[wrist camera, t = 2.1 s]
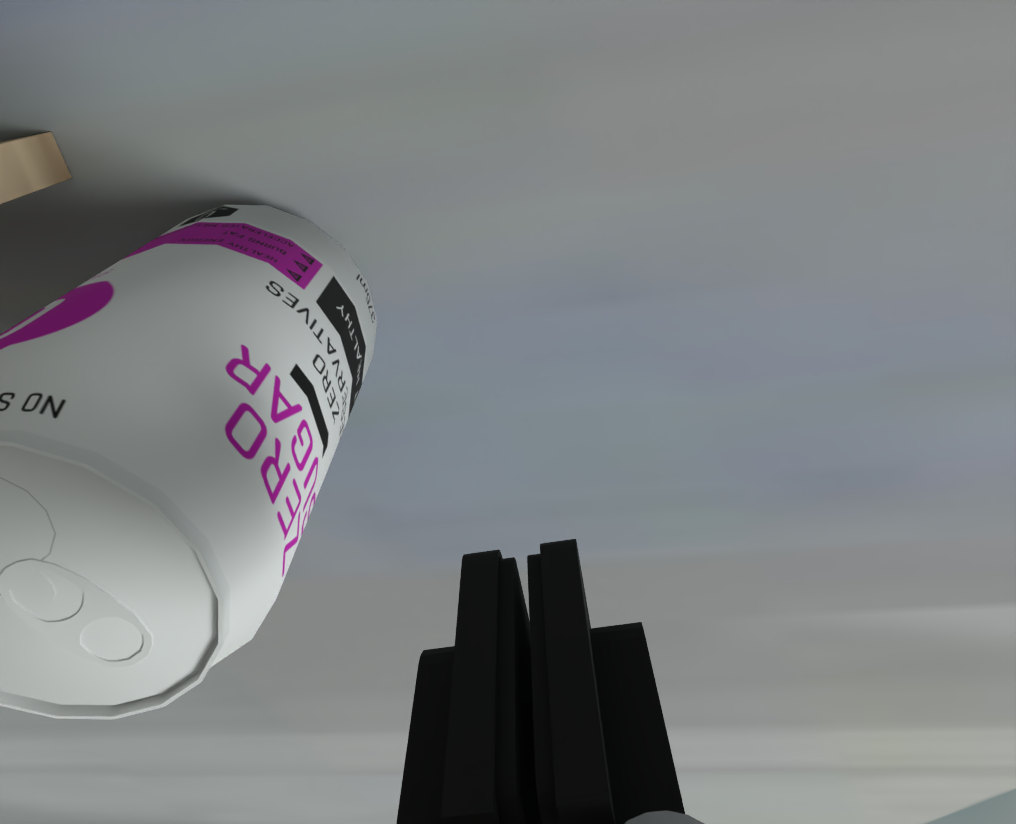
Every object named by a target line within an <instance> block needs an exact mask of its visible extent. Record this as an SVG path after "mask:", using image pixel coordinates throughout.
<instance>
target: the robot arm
mask: <svg viewBox="0 0 1016 824" xmlns="http://www.w3.org/2000/svg"><path fill="white" fill-rule="evenodd" d="M527 563H528V590H529V616H530V622H529V617H528V613H527V608H526V604H525V599H524V595H523V590H522V586H521V581H520V577H519V572H518V568H517V564H516V560H515V558H514V557H513V558H506V559H503V558H502V555H501V552H500V550H493V551H486V552H479V553H472V554H465V555H463V558H462V567H461V579H460V591H459V603H458V615H457V627H456V638H455V646H453V647H445V648H437V649H429V650H424V651H423V652H422V654H421V656H420V660H419V665H418V672H417V679H416V687H415V694H414V701H413V708H412V715H411V723H410V730H409V737H408V744H407V752H406V759H405V766H404V773H403V780H402V788H401V795H400V802H399V809H398V817H397V824H704V823H702V822H700V821H698V820H696V819H694V818H693V817H691V816H689V815H686V814H685V811H684V807H683V803H682V798H681V794H680V789H679V785H678V780H677V776H676V771H675V767H674V763H673V758H672V754H671V749H670V745H669V740H668V736H667V731H666V727H665V723H664V718H663V714H662V709H661V705H660V700H659V696H658V691H657V687H656V682H655V678H654V674H653V669H652V665H651V660H650V656H649V651H648V647H647V642H646V638H645V634H644V630H643V626H642V623H641V622H638V623H630V624H623V625H615V626H607V627H599V628H592V629H591V626H590V620H589V614H588V608H587V602H586V596H585V590H584V584H583V578H582V572H581V566H580V560H579V554H578V548H577V542H576V539H571V540H564V541H557V542H550V543H543V544H540V554H535V555H528V557H527Z"/></svg>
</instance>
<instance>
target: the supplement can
mask: <svg viewBox="0 0 1016 824" xmlns="http://www.w3.org/2000/svg"><path fill="white" fill-rule="evenodd" d="M376 328H377V317H376V313H375V310H374V306H373V302H372V298H371V294H370V290H369V286H368V283H367V282H366V280H365V279H364V277H363V276H362V274H361V273H360V271H359V270H358V268H357V267H356V265H355V264H354V262H353V261H352V259H351V258H350V256H349V255H348V253H347V252H346V250H345V249H344V248H343V247H342V246H341V245H339V244H338V243H337V242H336V241H334V240H333V239H332V238H331V237H329V236H328V235H327V234H325V233H324V232H323V231H322V230H320V229H319V228H318V227H317V226H315V225H314V224H313V223H312V222H310V221H308V220H306V219H303V218H300V217H297V216H295V215H292V214H289V213H287V212H284V211H281V210H279V209H276V208H273V207H271V206H267V205H223V206H220V207H217V208H215V209H212V210H209V211H206V212H204V213H201V214H198V215H196V216H193V217H190V218H188V219H186V220H184V221H183V222H181V223H180V224H178V225H176V226H175V227H173V228H171V229H170V230H168V231H167V232H165V233H163V234H162V235H160V236H159V237H157V238H155V239H154V240H152V241H150V242H149V243H147V244H146V245H144V246H142V247H141V248H139V249H138V250H136V251H134V252H133V253H131V254H129V255H128V256H126V257H125V258H123V259H121V260H120V261H118V262H117V263H115V264H113V265H112V266H110V267H109V268H107V269H105V270H104V271H102V272H100V273H99V274H97V275H96V276H94V277H92V278H91V279H89V280H88V281H86V282H84V283H83V284H81V285H79V286H78V287H76V288H75V289H73V290H71V291H70V292H68V293H67V294H65V295H63V296H62V297H60V298H58V299H57V300H55V301H54V302H52V303H50V304H49V305H47V306H46V307H44V308H42V309H41V310H39V311H37V312H36V313H34V314H33V315H31V316H29V317H28V318H26V319H25V320H23V321H21V322H20V323H18V324H17V325H15V326H13V327H12V328H10V329H8V330H7V331H5V332H4V333H2V334H0V706H4V707H8V708H13V709H17V710H21V711H26V712H30V713H34V714H39V715H43V716H47V717H52V718H56V719H117V718H121V717H125V716H129V715H133V714H137V713H141V712H146V711H150V710H154V709H158V708H162V707H165V706H166V705H168V704H169V703H171V702H172V701H174V700H175V699H177V698H178V697H180V696H181V695H183V694H184V693H186V692H187V691H189V690H190V689H192V688H193V687H195V686H196V685H198V684H199V683H201V682H202V680H203V679H204V677H205V675H206V674H207V672H208V670H209V668H210V667H212V666H213V665H215V664H216V663H218V662H219V661H221V660H222V659H224V658H225V657H227V656H228V655H229V654H231V653H232V652H234V651H235V650H237V649H238V648H240V647H241V646H243V645H244V644H246V643H247V642H249V641H250V640H251V639H252V638H253V637H254V635H255V633H256V632H257V630H258V628H259V627H260V625H261V623H262V622H263V620H264V618H265V617H266V615H267V613H268V612H269V610H270V608H271V607H272V605H273V603H274V602H275V600H276V598H277V596H278V593H279V591H280V588H281V586H282V583H283V581H284V578H285V576H286V573H287V571H288V568H289V565H290V563H291V560H292V558H293V555H294V553H295V550H296V548H297V545H298V543H299V540H300V538H301V535H302V533H303V530H304V528H305V525H306V523H307V520H308V518H309V515H310V513H311V510H312V508H313V505H314V503H315V500H316V498H317V495H318V493H319V490H320V488H321V485H322V483H323V480H324V478H325V475H326V473H327V470H328V468H329V465H330V463H331V460H332V458H333V455H334V453H335V450H336V448H337V445H338V443H339V440H340V438H341V435H342V433H343V430H344V428H345V425H346V423H347V420H348V418H349V415H350V413H351V410H352V408H353V405H354V403H355V400H356V398H357V395H358V393H359V390H360V388H361V385H362V383H363V380H364V378H365V375H366V373H367V370H368V368H369V365H370V363H371V360H372V358H373V353H374V345H375V336H376Z"/></svg>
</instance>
